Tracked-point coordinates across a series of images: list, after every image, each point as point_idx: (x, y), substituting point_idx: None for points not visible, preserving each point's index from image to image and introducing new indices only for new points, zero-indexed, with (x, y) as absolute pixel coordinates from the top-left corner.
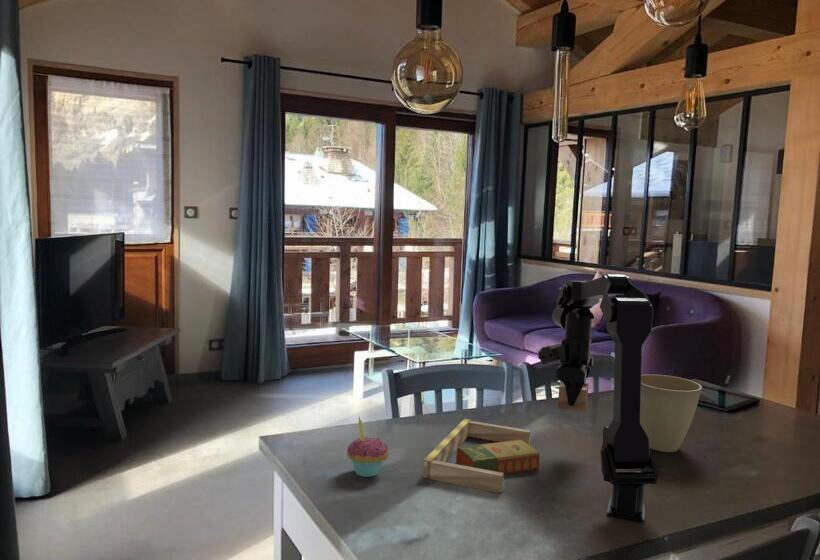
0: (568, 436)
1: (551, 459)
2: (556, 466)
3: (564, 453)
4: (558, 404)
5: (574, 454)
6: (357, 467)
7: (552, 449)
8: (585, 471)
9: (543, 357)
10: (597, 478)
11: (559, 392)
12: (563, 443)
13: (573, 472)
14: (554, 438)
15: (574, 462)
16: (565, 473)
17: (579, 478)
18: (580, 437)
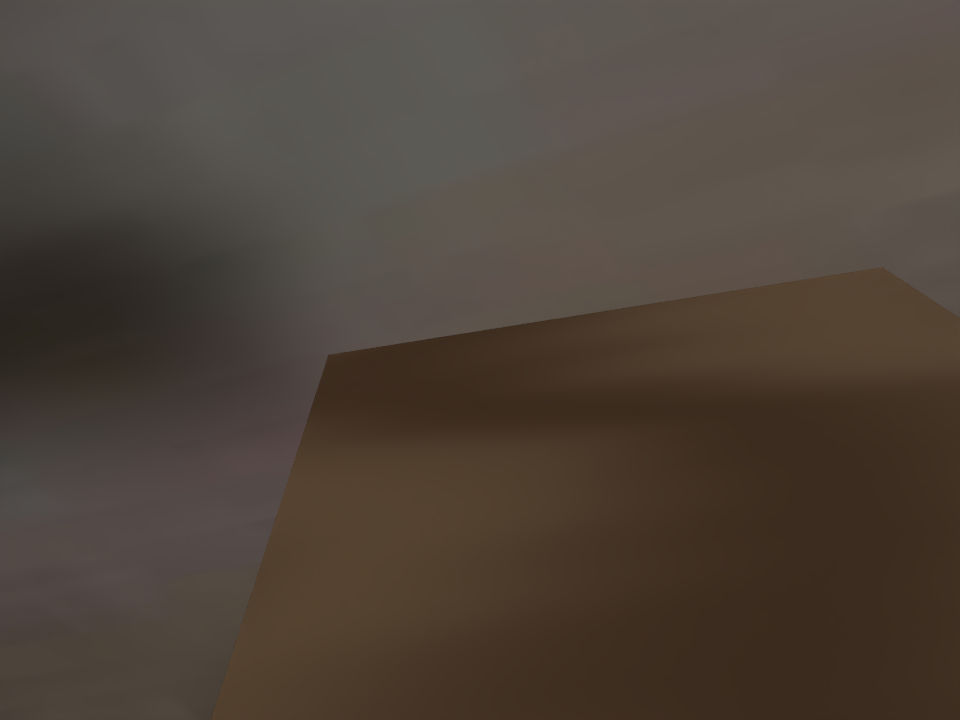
0: (914, 134)
1: (216, 174)
2: (98, 258)
3: (436, 230)
4: (314, 406)
5: (464, 306)
6: None
7: (469, 103)
8: (180, 454)
9: None
10: (126, 535)
11: (251, 640)
12: (690, 148)
13: (93, 395)
14: (799, 21)
15: (291, 351)
16: (24, 355)
17: (25, 453)
18: (923, 239)
